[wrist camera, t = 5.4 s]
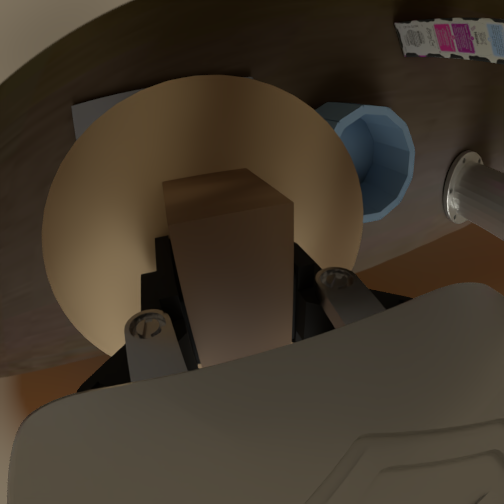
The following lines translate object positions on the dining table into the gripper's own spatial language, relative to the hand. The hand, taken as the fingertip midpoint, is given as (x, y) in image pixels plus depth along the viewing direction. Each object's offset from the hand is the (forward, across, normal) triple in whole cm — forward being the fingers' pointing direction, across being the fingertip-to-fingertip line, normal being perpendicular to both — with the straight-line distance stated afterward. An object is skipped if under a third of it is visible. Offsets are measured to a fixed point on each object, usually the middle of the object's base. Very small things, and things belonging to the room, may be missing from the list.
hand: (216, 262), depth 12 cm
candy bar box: (+17, -31, -16) cm, 39 cm away
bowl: (+17, -16, 0) cm, 24 cm away
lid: (+1, 0, 0) cm, 1 cm away
